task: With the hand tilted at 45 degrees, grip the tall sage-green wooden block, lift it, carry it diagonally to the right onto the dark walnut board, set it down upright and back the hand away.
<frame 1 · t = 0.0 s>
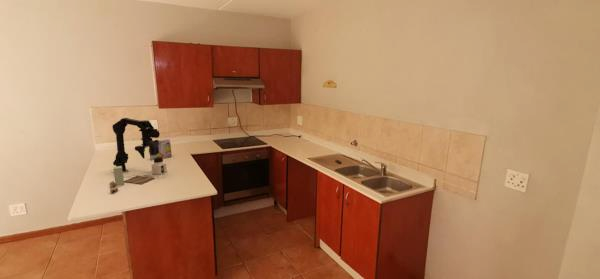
hand: (148, 156, 228), 15 cm above the worktop, tool pointing down, fingers open, 9 cm apart
cake pan box: (160, 158, 276), on the worktop
sage block: (119, 184, 210), on the worktop
walnut board: (139, 180, 218), on the worktop
container: (159, 173, 236), on the worktop
architectural model: (114, 192, 198), on the worktop
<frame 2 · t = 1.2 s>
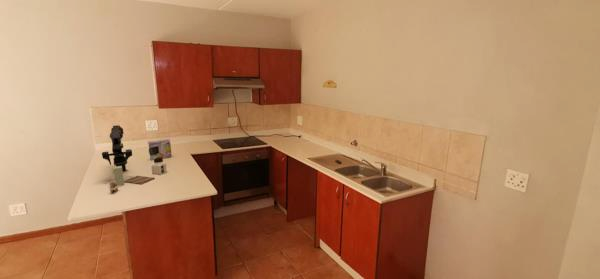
hand: (118, 163, 213), 13 cm above the worktop, tool tilted 45°, fingers open, 9 cm apart
nothing on the worktop moved.
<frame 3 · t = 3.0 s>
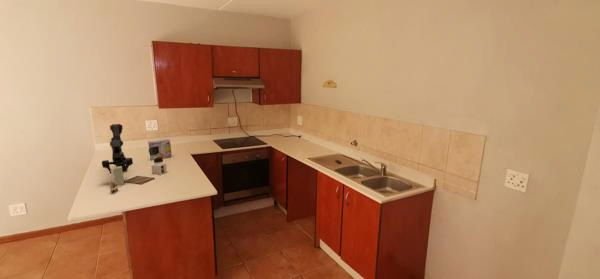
hand: (118, 172, 209), 9 cm above the worktop, tool tilted 45°, fingers open, 9 cm apart
nothing on the worktop moved.
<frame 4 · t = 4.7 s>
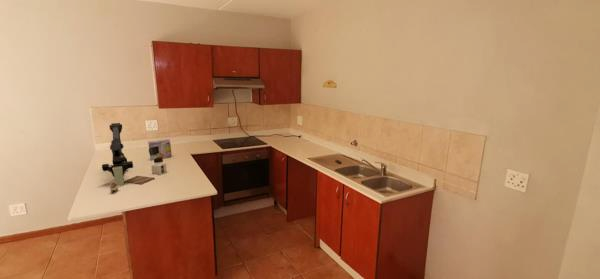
hand: (118, 176, 207), 7 cm above the worktop, tool tilted 45°, fingers closed on sage block, 5 cm apart
sage block: (119, 184, 210), on the worktop, touching gripper
everything else where it was.
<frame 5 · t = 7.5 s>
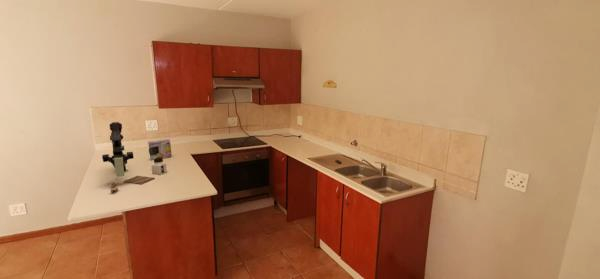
hand: (119, 166, 206), 13 cm above the worktop, tool tilted 45°, fingers closed on sage block, 5 cm apart
sage block: (120, 175, 209), point 7 cm above the worktop, touching gripper
everything else where it was.
when the fingers open (9 cm above the worktop, at t = 10.4 s): sage block drops 1 cm, resting on walnut board.
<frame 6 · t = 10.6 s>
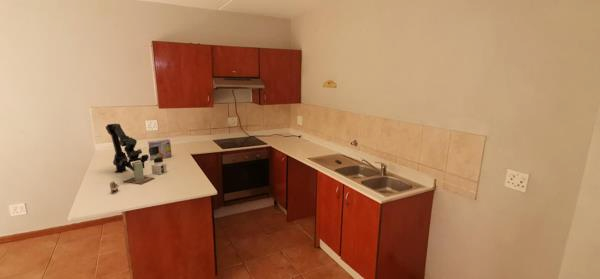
hand: (138, 169, 215), 9 cm above the worktop, tool tilted 45°, fingers open, 7 cm apart
sage block: (139, 179, 218), point 1 cm above the worktop, touching walnut board
everything else where it was.
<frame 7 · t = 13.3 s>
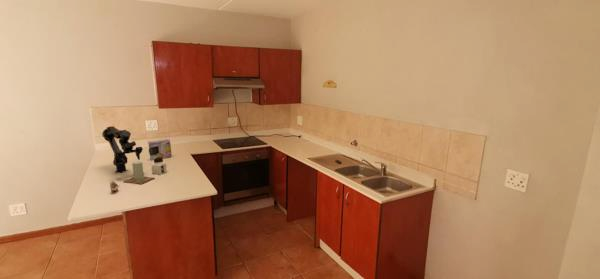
hand: (133, 161, 220), 14 cm above the worktop, tool tilted 45°, fingers open, 9 cm apart
nothing on the worktop moved.
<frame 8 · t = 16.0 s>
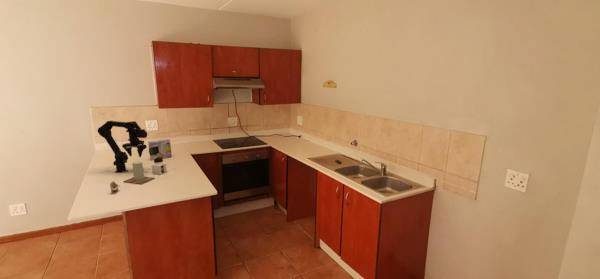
hand: (135, 156, 234), 13 cm above the worktop, tool pointing down, fingers open, 9 cm apart
nothing on the worktop moved.
at the end: sage block inside the target area on the walnut board (0.1 cm from its centre), point 0.8 cm above the walnut board's base; sage block tilted 0°; the gripper is holding nothing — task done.
